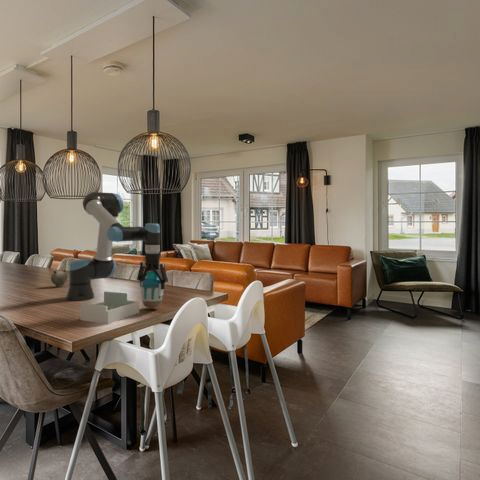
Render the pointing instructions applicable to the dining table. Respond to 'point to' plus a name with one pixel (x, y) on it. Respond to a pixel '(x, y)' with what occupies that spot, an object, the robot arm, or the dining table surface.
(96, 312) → the pusher lane
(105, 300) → the pusher
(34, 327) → the dining table surface
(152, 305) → the vase
